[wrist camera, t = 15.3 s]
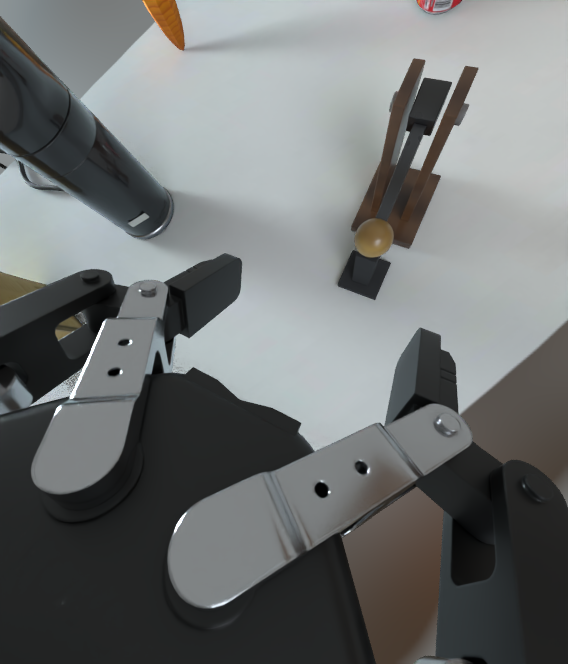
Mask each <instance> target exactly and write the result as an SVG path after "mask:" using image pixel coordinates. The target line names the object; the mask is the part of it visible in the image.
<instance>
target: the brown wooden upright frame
mask: <svg viewBox="0 0 568 664" xmlns="http://www.w3.org/2000/svg"><path fill="white" fill-rule="evenodd" d="M424 65H425V60H421V59H415V58H414V59H413V61H412V63H411V65H410V67H409V69H408V72H407V74H406V76H405V78H404V81H403V83H402V85H401V87H400V89H399V92H398V91H396V92H395V93H394V95H393V98H392V101H391V104H390V109H389V112H391V115H390V120H389V125H388V129H387V134H386V139H385V144H384V149H383V154H382V158H381V162H380V164H379V166H378V168H377V170H376V173H375V175H374V177H373V179H372V182H371V184H370V186H369V188H368V191H367V193H366V195H365V197H364V200H363V202H362V204H361V206H360V209H359V211H358V213H357V215H356V217H355V220H354V222H353V224H352V228H351V231H354V232H356V231H357V229H358V228H359V226H360V225H361V224H362V223H364V222H365V221H367V220H369V219H373V218H376V215H377V213H378V210H379V208H380V205H381V203H382V200H383V198H384V195H385V193H386V190H387V188H388V185H389V183H390V181H391V178H392V176H393V173H394V171H395V168H396V166H397V165H396V163H397V160H398V156H399V153H400V149H401V146H402V142H403V139H404V135H405V132H406V128H407V123H408V117H409V114H410V112H411V109H412V107H413V103H414V100H415V96H416V93H417V89H418V86H419V82H420V79H421V75H422V72H423V68H424ZM477 71H478V68H476V67H469V66H465V67H464V70H463V72H462V74H461V77H460V79H459V81H458V83H457V86H456V88H455V90H454V93H453V95H452V97H451V99H450V102H449V104H448V106H447V109H446V111H445V113H444V115H443V118H442V120H441V123H440V125H439V128H438V130H437V132H436V135H435V137H434V140H433V142H432V144H431V147H430V149H429V152H428V154H427V157H426V159H425V161H424V164H423V166H422V169H421V171H420V170H416V169H411V168H409V171H408V173H407V176H406V178H405V180H404V183H403V185H402V187H401V190H400V192H399V195H398V197H397V199H396V202H395V204H394V206H393V209H392V211H391V214H390V216H389V218H388V221H387V222H388V223H389V224H390V225H391V227H392V229H393V233H394V239H393V243H392V244H395V245H399V246H402V247H405V248H408V249H409V248H410V246H411V245H412V242H413V240H414V238H415V235H416V233H417V231H418V228H419V226H420V224H421V221H422V219H423V217H424V214H425V212H426V210H427V208H428V205H429V203H430V201H431V198H432V196H433V194H434V191H435V189H436V187H437V184H438V182H439V180H440V177H441V176H440V175H436V174H432V173H431V172H432V170H433V168H434V166H435V164H436V162H437V159H438V157H439V155H440V153H441V151H442V149H443V147H444V145H445V142H446V140H447V138H448V136H449V134H450V132H451V130H452V128H453V126H454V125H457V126H459V125H460V124H461V122H462V120H463V118H464V116H465V114H466V111H467V109H468V107H469V104H465V103H464V101H465V99H466V96H467V94H468V92H469V89H470V87H471V85H472V82H473V80H474V78H475V76H476V73H477Z"/></svg>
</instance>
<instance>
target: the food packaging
mask: <svg viewBox="0 0 568 664" xmlns="http://www.w3.org/2000/svg"><path fill="white" fill-rule="evenodd" d="M45 286H47V285H46V284H41V283H37V282H34V281H30V280H26V279H23V278H19V277H16V276H12V275H9V274H5V273H2V272H0V306H1V305H3V304H5V303H8V302H10V301H12V300H15V299H17V298H19V297H22V296H24V295H26V294H29V293H31V292H33V291H35V290H38V289H40V288H42V287H45ZM81 326H82V325H81V323H80V322H79V321H78V320H77V319H76V318H75V317H74V316H72V317H70V318H68V319H66V320H65V321H63V322H61V323H60V324H59V325H58V326H57V328H56V331H55V334H56V337H57V338H58V340H60V339H61V338H63V337H65V336H66V335H68V334H70V333H71V332H73V331H75V330H76V329H78V328H80V327H81Z"/></svg>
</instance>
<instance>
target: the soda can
mask: <svg viewBox="0 0 568 664" xmlns="http://www.w3.org/2000/svg"><path fill="white" fill-rule="evenodd" d="M461 1H462V0H417V3H418V5H419V6H420V7H421V8H422V9H424V10H425V11H426V12H428V13H430V14H441V13H444V12H446V11H448V10H450V9H452V8H453V7H455V6H456V5H458V4H459V3H460V2H461Z"/></svg>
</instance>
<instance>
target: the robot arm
mask: <svg viewBox="0 0 568 664" xmlns="http://www.w3.org/2000/svg"><path fill="white" fill-rule="evenodd" d="M0 153H5V154H9V155H11V156H12V157H14V158H15V159H16V160H17V163H18V166H19V170H20V174H21V176H22V178H23V180H24V181H25V182H26V183H27V184H28V185H29V186H31V187H33V188H36V189H41V190H58V191H65V192H67V193H69V194H70V195H72V196H73V197H75V198H76V199H78V200H79V201H81V202H82V203H84V204H85V205H87V206H88V207H90V208H91V209H93V210H94V211H96V212H97V213H99V214H100V215H102V216H103V217H105V218H106V219H108V220H109V221H111V222H112V223H114V224H115V225H117V226H118V227H120V228H121V229H123V230H124V231H125V232H126V233H128V234H129V235H131V236H132V237H134V238H137V239H149V238H152V237H154V236H156V235H158V234H159V233H161V232H162V231H163V230H164V229H165V228H166V227H167V225H168V224H169V222H170V220H171V218H172V214H173V200H172V198H171V196H170V194H169V193H168V192H167V191H166V189H165V188H163V187H162V186H161V185H160V184H159V183H158V182H157V181H156V180H155V179H154V178H153V177H152V175H151V174H150V173H149V172H148V171H147V170H146V169H145V168H144V167H143V166H142V165H141V164H140V163H139V162H138V161H137V160H136V159H135V158H134V157H133V155H132V154H131V153H130V152H129V151H128V150H127V149H126V148H125V147H124V146H123V145H122V144H121V143H120V142H119V141H118V140H117V139H116V138H115V137H114V135H113V134H112V133H111V132H110V131H109V130H108V129H107V128H106V127H105V126H104V125H103V124H102V123H101V122H100V121H99V120H98V119H97V118H96V116H95V115H94V114H93V113H92V112H91V111H90V110H89V109H88V108H87V107H86V106H85V105H84V104H83V103H82V102H81V101H80V100H79V99H78V98H77V97H76V96H75V95H74V94H73V92H71V91H70V89H69V88H68V87H67V86H66V85H65V84H64V83H63V82H62V81H61V80H60V79H59V78H58V77H57V76H56V75H55V74H54V73H53V72H52V71H51V70H50V69H49V67H47V65H46V64H45V63H44V62H43V61H42V60H41V59H40V58H39V57H38V56H37V55H36V54H35V53H34V52H33V51H32V50H31V48H30V47H29V46H28V45H27V44H26V43H25V42H24V41H23V40H22V39H21V38H20V37H19V36H18V35H17V34H16V32H15V31H14V30H13V29H12V28H11V27H10V26H9V25H8V24H7V23H6V22H5V21H4V20H3V19H2V18H1V16H0ZM23 164H25V165H26V166H28V167H29V168H31V169H32V170H34V171H35V172H37V173H38V174H40V175H41V176H43V177H44V178H46V179H47V180H49V181H50V182H52V183H53V184H55V185H56V186H51V185H37V184H34V183H32V182H30V181H29V179H28V178H27V176H26V174H25V170H24V166H23ZM0 167H2V168H3V169H6V168H7V166H5V165H3V164H1V163H0ZM241 273H242V261H241V259H240V258H237V257H234V256H232V255H229V254H226V253H224V254H222V255H220V256H218V257H217V258H215V259H213V260H208V261H203V262H200V263H198V264H197V265H195V266H193V268H192V267H191V268H189V269H188V270H186V271H184V272H182V273H180V274H178V275H177V276H175V277H173V278H171V279H169V280H167V281H166V282H164V283H163V282H160V281H156V280H144V281H139V282H136V283H134V284H132V285H131V286H130V287H127V286H121V285H116V284H114V281H113V278H112V275H111V274H110V273H109V272H107V271H104V270H99V269H91V270H84V271H80V272H78V273H75V274H73V275H70V276H68V277H66V278H63V279H61V280H59V281H56V282H54V283H52V284H49V285H47V286H45V287H42V288H40V289H38V290H35V291H33V292H31V293H29V294H26V295H24V296H22V297H19V298H17V299H15V300H12V301H10V302H8V303H5V304H3V305H1V306H0V664H376V662H375V659H374V655H373V651H372V648H371V644H370V640H369V637H368V633H367V629H366V626H365V622H364V618H363V615H362V611H361V608H360V604H359V600H358V597H357V593H356V589H355V586H354V582H353V578H352V575H351V571H350V568H349V564H348V560H347V557H346V553H345V549H344V545H343V542H342V538H343V537H344V536H346V535H347V534H349V533H350V532H352V531H353V530H355V529H356V528H358V527H359V526H361V525H362V524H363V523H365V522H366V521H367V520H369V519H370V518H372V517H373V516H374V515H376V514H377V513H379V512H380V511H382V510H383V509H384V508H386V507H387V506H389V505H390V504H392V503H393V502H395V501H396V500H398V499H399V498H401V497H402V496H404V495H405V494H406V493H408V492H410V491H411V490H412V489H414V488H415V487H418V488H420V489H421V490H422V491H423V492H424V493H425V494H426V495H427V496H429V497H430V498H431V499H432V500H433V501H434V502H435V503H436V504H438V505H439V506H440V507H441V508H442V509H443V510H444V516H443V533H442V551H441V568H440V569H441V570H440V586H439V603H438V620H437V639H436V656H424V657H422V658H419V659H418V660H417V661H416V662H415V663H414V664H568V507H567V504H566V501H565V499H564V497H563V495H562V494H561V492H560V490H559V489H558V488H557V487H556V485H555V484H554V483H553V482H552V481H551V480H550V479H549V478H548V477H547V476H546V475H545V474H544V473H542V472H541V471H540V470H538V469H537V468H535V467H534V466H532V465H530V464H528V463H526V462H523V461H520V460H510V461H508V462H506V463H504V464H502V463H501V462H499V461H498V460H497V459H495V458H494V457H493V456H491V455H490V454H488V453H487V452H486V451H484V450H483V449H481V448H480V447H479V446H478V445H476V444H475V443H474V442H473V441H472V439H473V438H472V432H471V430H470V428H469V426H468V424H467V423H466V421H465V420H464V419H463V418H462V417H461V416H460V415H459V414H458V398H457V385H456V383H457V381H456V376H455V375H456V365H455V362H454V360H453V359H452V357H451V355H450V353H449V352H446V351H444V350H441V336H440V335H439V334H436V333H434V332H431V331H428V330H426V329H423V328H419V329H418V330H417V331H416V333H415V334H414V336H413V338H412V339H411V341H410V342H409V344H408V345H407V347H406V349H405V350H404V352H403V353H402V355H401V357H400V359H399V361H398V363H397V366H396V369H395V374H394V379H393V384H392V390H391V395H390V400H389V405H388V410H387V416H386V421H385V426H382V424H381V423H375V424H372V425H370V426H368V427H366V428H364V429H362V430H360V431H358V432H355V433H353V434H351V435H349V436H347V437H345V438H343V439H341V440H339V441H336V442H334V443H332V444H330V445H328V446H326V447H324V448H322V449H320V450H317V451H314V450H313V448H312V447H311V446H310V444H309V443H308V442H307V441H306V440H305V438H304V437H303V436H302V435H300V434H299V433H298V431H299V428H300V426H301V423H300V422H298V421H297V420H295V419H293V418H291V417H289V416H287V415H285V414H283V413H281V412H279V411H277V410H275V409H273V408H270V407H266V406H262V405H258V404H254V403H250V402H246V401H242V400H240V399H238V398H237V397H236V396H235V395H234V394H233V393H231V392H230V391H229V390H228V389H227V388H226V387H225V386H224V385H223V384H221V383H220V382H219V381H218V380H217V379H215V378H213V377H211V376H209V375H207V374H205V373H203V372H201V371H199V370H197V369H195V368H192V369H190V370H189V371H188V372H187V373H186V374H180V373H172V368H173V361H174V353H175V345H176V338H175V336H176V335H178V334H179V333H180V334H182V335H184V336H186V337H188V338H190V337H191V336H193V335H194V334H195V333H196V332H198V331H199V330H200V329H201V328H202V327H204V326H205V325H206V324H207V323H208V322H210V321H211V320H212V319H213V318H215V317H216V316H217V315H218V314H219V313H221V312H222V311H223V310H224V309H225V308H227V307H228V306H229V305H230V304H232V303H233V302H234V301H235V300H236V299H237V297H238V296H239V293H240V289H241ZM81 311H82V313H83V315H84V318H85V320H86V322H87V324H85V325H83V326H81V327H80V328H78V329H76V330H75V331H73V332H71V333H70V334H68V335H66V336H65V337H63V338H61V339H60V340H58V338H57V337H56V334H55V331H56V328H57V326H58V325H59V324H60V323H61V322H63V321H65V320H66V319H68V318H70V317H72V316H74V315H76V314H77V313H79V312H81ZM83 367H84V369H83V371H82V373H81V375H80V378H79V380H78V382H77V385H76V387H75V389H74V391H73V394H72V396H69V397H65V398H62V399H58V400H54V401H50V402H46V403H42V404H39V405H35V406H31V407H29V406H30V405H32V404H33V403H34V402H36V401H37V400H38V399H40V398H41V397H43V396H44V395H45V394H47V393H48V392H50V391H51V390H52V389H54V388H55V387H57V386H58V385H59V384H61V383H62V382H63V381H65V380H66V379H68V378H69V377H70V376H72V375H73V374H75V373H76V372H77V371H79V370H80V369H82V368H83Z"/></svg>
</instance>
